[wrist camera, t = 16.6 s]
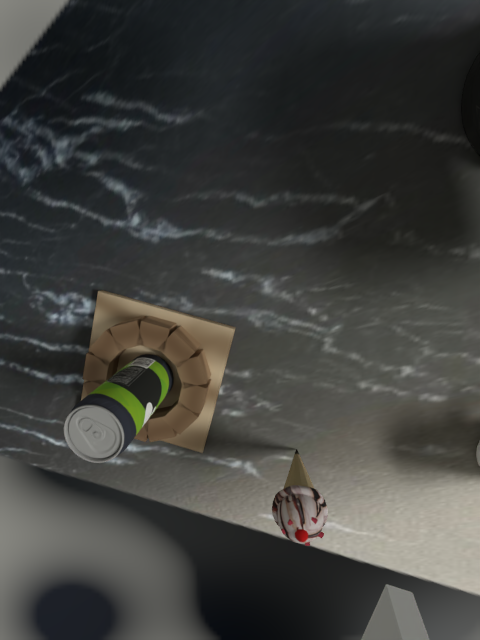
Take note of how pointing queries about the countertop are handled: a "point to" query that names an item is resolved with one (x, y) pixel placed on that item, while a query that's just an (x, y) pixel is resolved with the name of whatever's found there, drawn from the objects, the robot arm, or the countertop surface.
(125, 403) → the beverage can
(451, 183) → the countertop surface
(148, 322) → the holder
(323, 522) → the ice cream cone
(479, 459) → the cup
